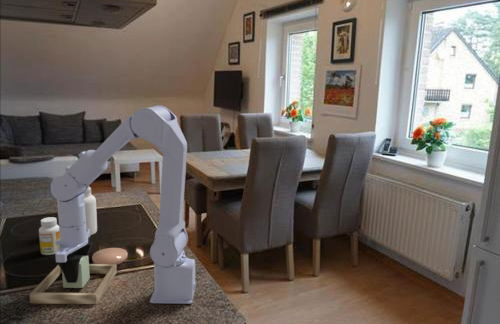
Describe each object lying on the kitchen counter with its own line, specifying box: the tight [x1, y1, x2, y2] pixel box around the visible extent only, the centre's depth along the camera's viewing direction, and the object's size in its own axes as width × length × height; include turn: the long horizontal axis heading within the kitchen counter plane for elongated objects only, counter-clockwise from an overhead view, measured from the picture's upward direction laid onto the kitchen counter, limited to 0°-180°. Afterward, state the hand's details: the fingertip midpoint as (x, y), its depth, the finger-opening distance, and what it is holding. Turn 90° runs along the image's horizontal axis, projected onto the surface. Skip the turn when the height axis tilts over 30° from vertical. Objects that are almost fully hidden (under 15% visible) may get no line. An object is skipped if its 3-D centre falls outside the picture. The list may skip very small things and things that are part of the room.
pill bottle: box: [84, 186, 98, 236], centre depth 124 cm, size 8×8×15 cm
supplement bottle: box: [38, 216, 60, 256], centre depth 111 cm, size 5×5×10 cm
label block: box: [61, 255, 91, 289], centre depth 93 cm, size 4×4×6 cm
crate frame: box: [29, 263, 118, 305], centre depth 93 cm, size 15×15×2 cm
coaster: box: [91, 247, 128, 265], centre depth 108 cm, size 9×9×1 cm
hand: (76, 276), depth 93 cm, fingers closed on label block, 4 cm apart
